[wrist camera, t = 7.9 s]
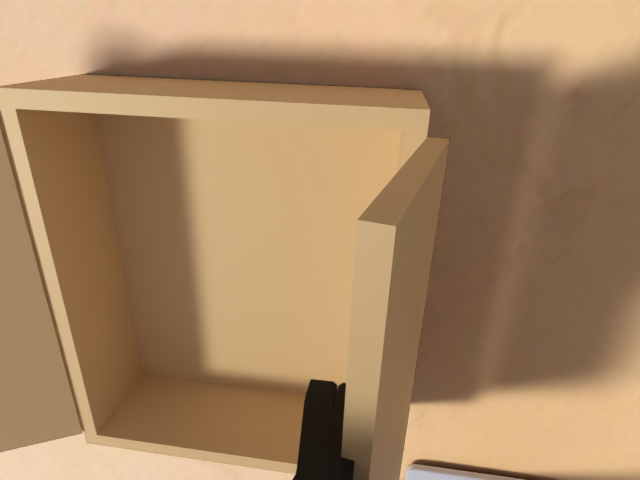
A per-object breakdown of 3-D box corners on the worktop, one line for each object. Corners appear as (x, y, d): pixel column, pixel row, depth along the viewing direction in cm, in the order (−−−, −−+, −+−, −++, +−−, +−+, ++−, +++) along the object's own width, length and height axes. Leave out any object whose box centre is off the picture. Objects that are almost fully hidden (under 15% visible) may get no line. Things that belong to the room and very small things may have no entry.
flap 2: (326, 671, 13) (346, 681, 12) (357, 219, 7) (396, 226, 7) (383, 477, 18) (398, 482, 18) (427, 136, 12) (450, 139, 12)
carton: (383, 405, 23) (382, 487, 19) (137, 373, 24) (86, 443, 20) (420, 89, 16) (430, 109, 12) (83, 74, 18) (-8, 87, 14)
